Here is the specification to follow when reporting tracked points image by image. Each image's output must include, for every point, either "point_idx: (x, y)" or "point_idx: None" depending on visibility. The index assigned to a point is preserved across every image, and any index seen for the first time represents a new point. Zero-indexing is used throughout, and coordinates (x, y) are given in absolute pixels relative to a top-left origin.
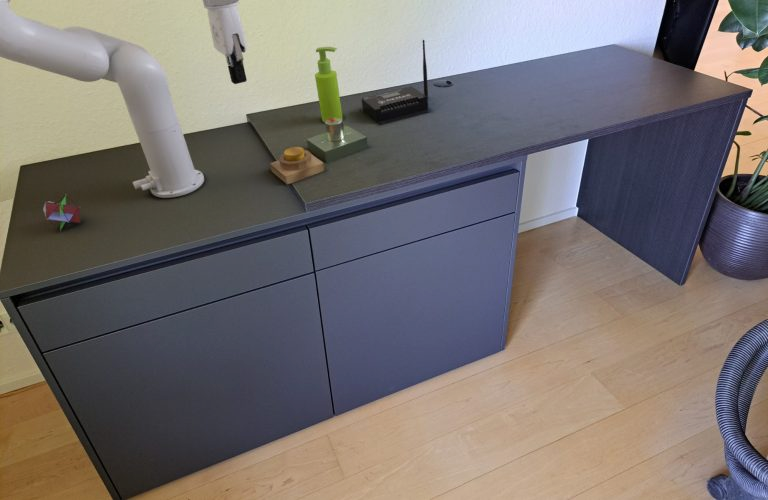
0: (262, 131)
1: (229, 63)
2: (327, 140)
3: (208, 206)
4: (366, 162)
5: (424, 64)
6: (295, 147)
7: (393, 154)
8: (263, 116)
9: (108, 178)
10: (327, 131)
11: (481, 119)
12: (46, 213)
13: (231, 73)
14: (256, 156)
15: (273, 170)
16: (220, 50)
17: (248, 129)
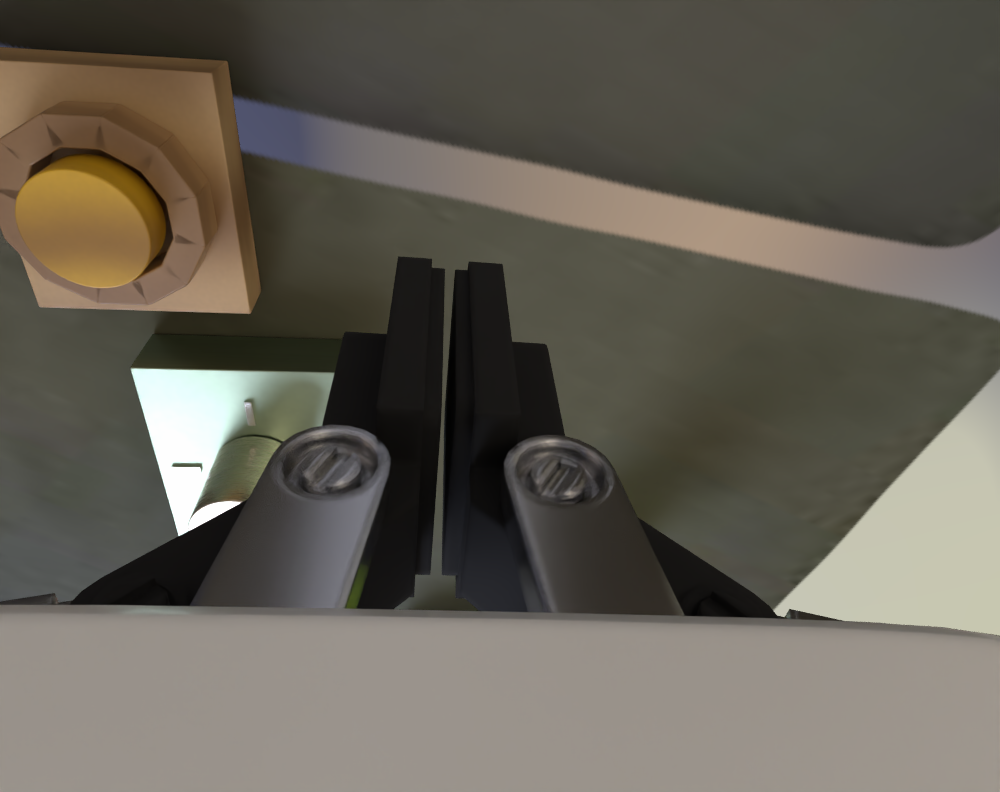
0: (779, 277)
1: (504, 474)
2: (258, 431)
3: None
4: (53, 446)
5: None
6: (134, 263)
7: (72, 539)
8: (937, 365)
9: None
10: (239, 469)
11: None
12: None
13: (386, 338)
14: (503, 91)
15: (178, 62)
16: (308, 701)
17: (884, 233)
